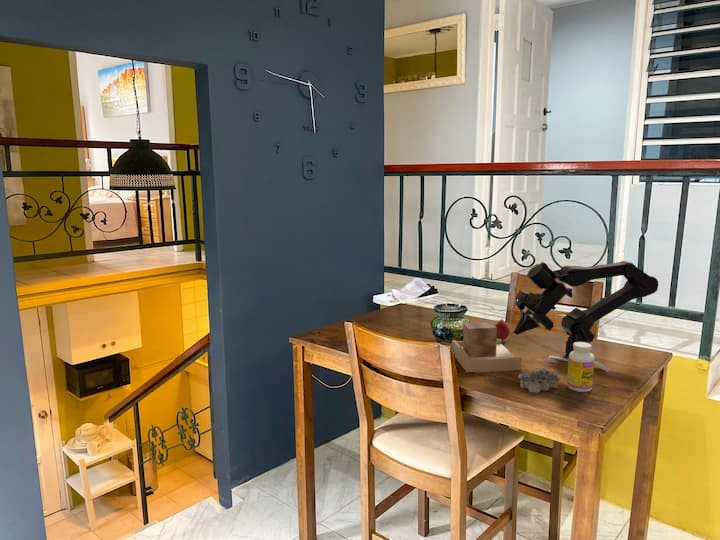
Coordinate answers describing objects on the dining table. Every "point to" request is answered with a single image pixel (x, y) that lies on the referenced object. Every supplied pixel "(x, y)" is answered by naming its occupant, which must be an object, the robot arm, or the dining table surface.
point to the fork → (594, 362)
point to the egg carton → (538, 380)
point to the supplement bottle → (580, 368)
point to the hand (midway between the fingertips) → (514, 333)
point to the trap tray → (487, 359)
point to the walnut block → (479, 339)
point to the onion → (502, 330)
